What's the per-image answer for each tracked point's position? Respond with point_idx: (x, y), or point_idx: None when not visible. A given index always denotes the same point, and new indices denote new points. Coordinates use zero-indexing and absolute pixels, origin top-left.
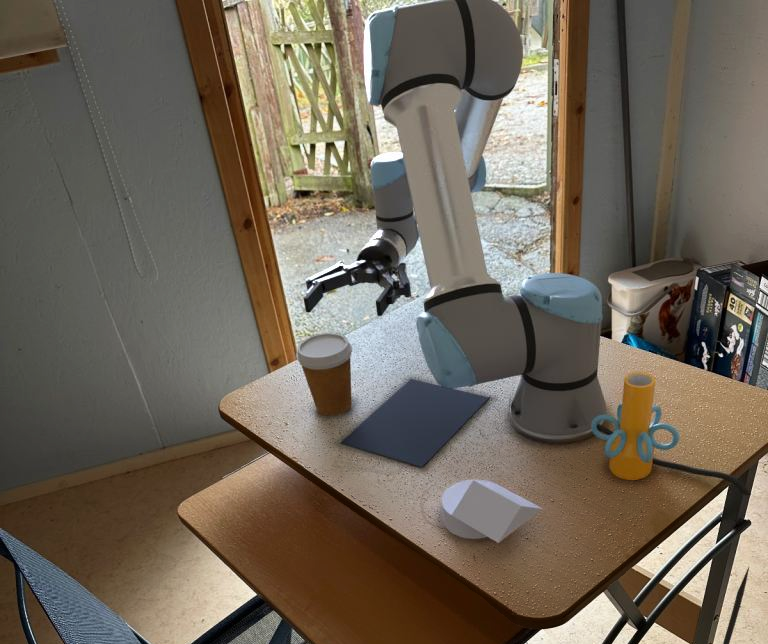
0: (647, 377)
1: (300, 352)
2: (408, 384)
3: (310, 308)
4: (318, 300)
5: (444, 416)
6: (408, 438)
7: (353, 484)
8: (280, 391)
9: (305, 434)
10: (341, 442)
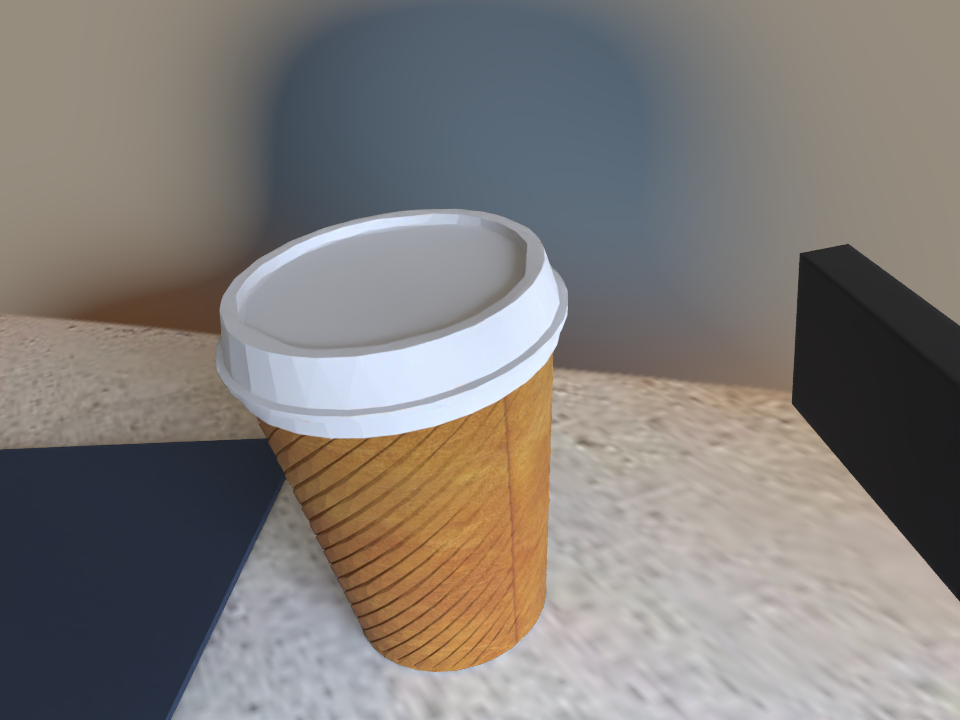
0: None
1: (474, 212)
2: None
3: (807, 392)
4: (949, 566)
5: None
6: (27, 531)
7: (196, 356)
8: (849, 593)
9: None
10: None
